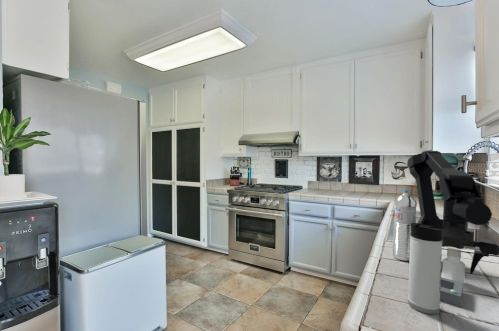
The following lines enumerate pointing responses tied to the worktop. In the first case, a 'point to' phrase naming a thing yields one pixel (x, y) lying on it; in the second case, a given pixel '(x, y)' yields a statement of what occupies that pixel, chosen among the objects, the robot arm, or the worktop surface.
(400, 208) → the water bottle
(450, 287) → the socket dock
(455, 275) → the pepper shaker
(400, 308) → the worktop surface
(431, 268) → the travel mug
